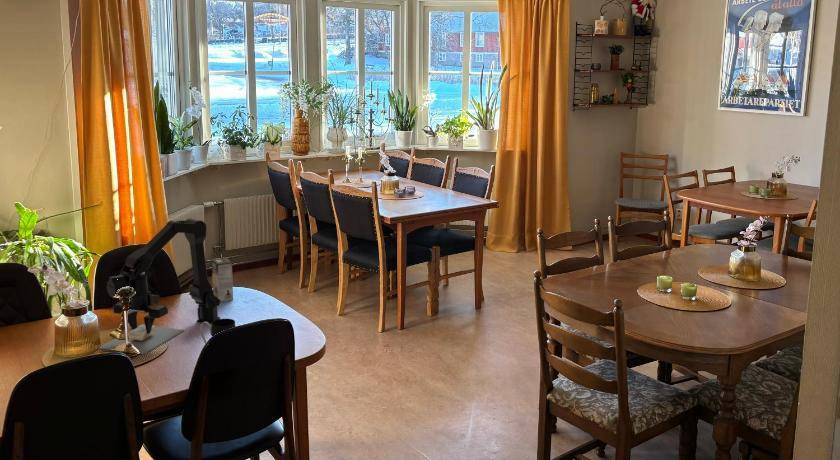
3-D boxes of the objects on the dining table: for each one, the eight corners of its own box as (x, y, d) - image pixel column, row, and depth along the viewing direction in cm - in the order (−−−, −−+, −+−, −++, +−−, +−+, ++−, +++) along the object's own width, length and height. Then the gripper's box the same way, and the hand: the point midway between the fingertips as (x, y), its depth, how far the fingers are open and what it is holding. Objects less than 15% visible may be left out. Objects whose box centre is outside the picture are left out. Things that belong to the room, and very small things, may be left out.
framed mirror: (142, 340, 269) (141, 333, 269) (129, 339, 271) (128, 331, 270) (155, 332, 277) (154, 325, 276) (143, 331, 278) (142, 324, 278)
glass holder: (226, 373, 246) (223, 328, 243) (193, 364, 253) (190, 321, 250) (244, 364, 254) (242, 320, 250) (212, 355, 261) (210, 313, 257)
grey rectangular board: (184, 331, 283) (184, 329, 283) (143, 355, 260) (143, 353, 260) (141, 325, 288) (141, 324, 288) (98, 348, 265) (98, 347, 265)
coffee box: (212, 295, 323) (210, 258, 320) (227, 293, 327) (225, 256, 323) (218, 302, 316) (216, 264, 312) (234, 299, 319) (232, 262, 315)
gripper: (175, 286, 275) (178, 327, 278) (130, 281, 280) (133, 322, 284) (156, 295, 264) (159, 338, 268) (110, 290, 270) (114, 332, 273)
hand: (142, 332), depth 273 cm, fingers closed on framed mirror, 5 cm apart
